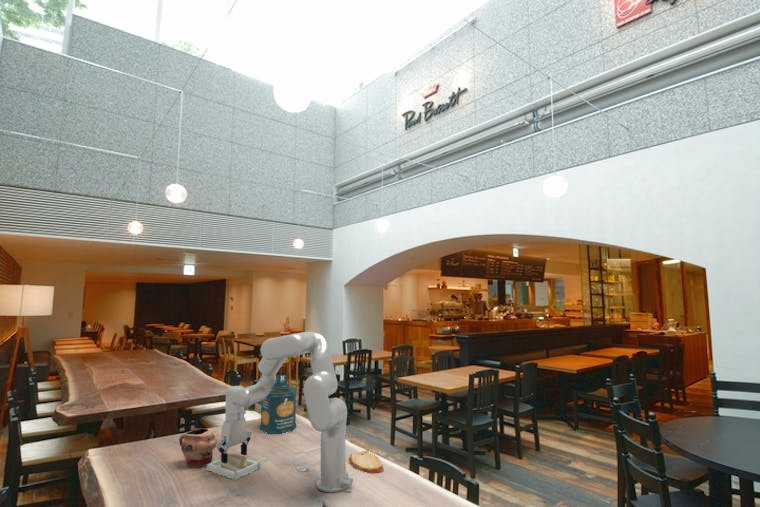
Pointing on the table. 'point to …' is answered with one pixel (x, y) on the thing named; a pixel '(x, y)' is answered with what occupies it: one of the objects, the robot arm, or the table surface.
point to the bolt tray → (228, 473)
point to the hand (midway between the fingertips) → (234, 458)
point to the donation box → (279, 408)
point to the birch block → (235, 462)
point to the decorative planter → (198, 447)
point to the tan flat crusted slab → (366, 462)
